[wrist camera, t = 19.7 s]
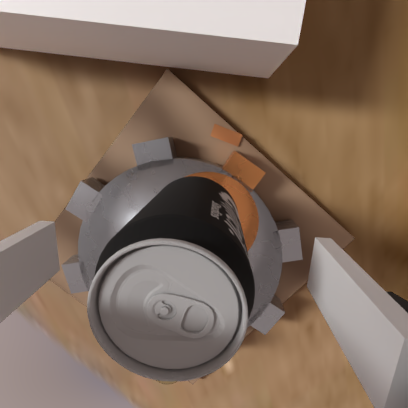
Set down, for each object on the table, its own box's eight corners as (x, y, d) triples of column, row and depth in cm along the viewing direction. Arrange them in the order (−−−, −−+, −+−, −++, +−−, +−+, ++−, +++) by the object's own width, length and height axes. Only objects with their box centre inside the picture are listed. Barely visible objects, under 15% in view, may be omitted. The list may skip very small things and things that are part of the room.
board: (170, 70, 22) (167, 66, 21) (350, 233, 24) (357, 238, 23) (32, 257, 27) (23, 263, 26) (193, 376, 29) (192, 386, 28)
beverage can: (167, 162, 20) (96, 201, 8) (250, 190, 20) (291, 266, 9) (144, 239, 22) (58, 360, 10) (221, 265, 22) (223, 412, 10)
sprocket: (66, 128, 22) (11, 127, 16) (313, 147, 21) (348, 151, 16) (78, 334, 27) (39, 389, 21) (277, 354, 26) (294, 416, 21)
